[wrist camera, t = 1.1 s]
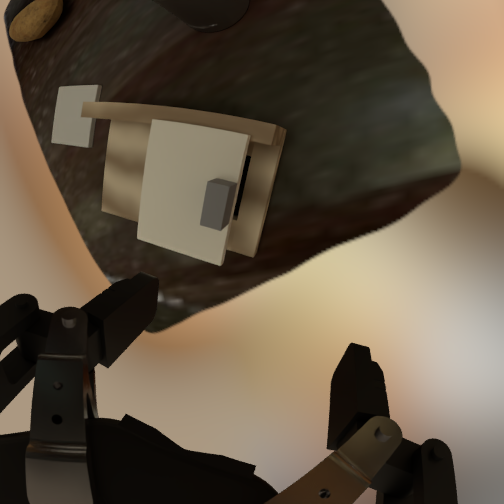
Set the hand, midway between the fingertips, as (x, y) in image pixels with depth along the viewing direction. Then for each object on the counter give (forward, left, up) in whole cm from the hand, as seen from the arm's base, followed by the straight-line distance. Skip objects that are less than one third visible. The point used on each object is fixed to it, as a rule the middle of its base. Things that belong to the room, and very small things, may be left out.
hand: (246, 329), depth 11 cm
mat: (-6, -38, -26) cm, 46 cm away
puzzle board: (0, -16, -26) cm, 31 cm away
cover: (0, -11, -18) cm, 21 cm away
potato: (-26, -53, -27) cm, 65 cm away
